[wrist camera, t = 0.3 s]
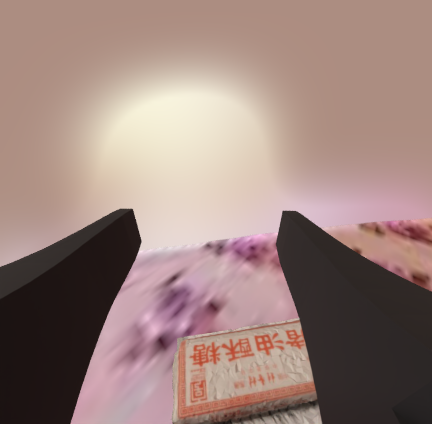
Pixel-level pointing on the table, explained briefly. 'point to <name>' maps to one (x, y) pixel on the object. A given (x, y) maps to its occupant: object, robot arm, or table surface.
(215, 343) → the packaged product
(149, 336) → the table surface
